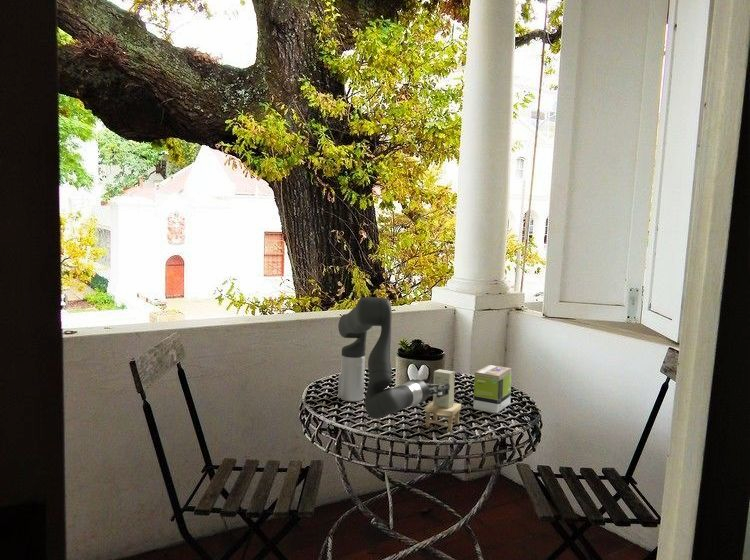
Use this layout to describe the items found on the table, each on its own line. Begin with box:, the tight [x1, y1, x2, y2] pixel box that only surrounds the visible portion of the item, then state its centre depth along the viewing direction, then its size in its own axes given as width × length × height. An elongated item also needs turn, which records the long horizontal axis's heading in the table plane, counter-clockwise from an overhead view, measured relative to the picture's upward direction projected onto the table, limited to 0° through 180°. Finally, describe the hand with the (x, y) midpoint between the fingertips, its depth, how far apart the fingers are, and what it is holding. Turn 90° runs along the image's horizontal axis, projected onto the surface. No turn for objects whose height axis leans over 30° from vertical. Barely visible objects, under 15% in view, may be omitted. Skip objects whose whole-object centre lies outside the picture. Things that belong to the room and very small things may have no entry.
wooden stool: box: [424, 400, 462, 432], centre depth 223 cm, size 10×10×7 cm
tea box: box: [472, 364, 513, 414], centre depth 247 cm, size 15×10×15 cm
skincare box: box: [432, 368, 456, 408], centre depth 222 cm, size 6×4×12 cm
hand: (437, 384), depth 217 cm, fingers open, 8 cm apart
